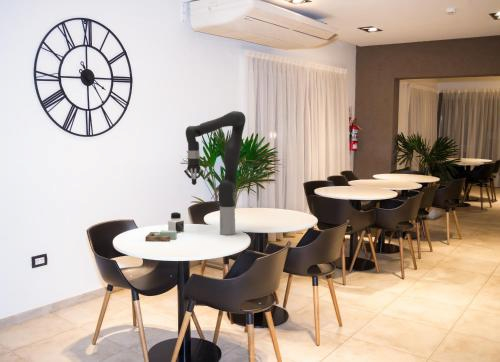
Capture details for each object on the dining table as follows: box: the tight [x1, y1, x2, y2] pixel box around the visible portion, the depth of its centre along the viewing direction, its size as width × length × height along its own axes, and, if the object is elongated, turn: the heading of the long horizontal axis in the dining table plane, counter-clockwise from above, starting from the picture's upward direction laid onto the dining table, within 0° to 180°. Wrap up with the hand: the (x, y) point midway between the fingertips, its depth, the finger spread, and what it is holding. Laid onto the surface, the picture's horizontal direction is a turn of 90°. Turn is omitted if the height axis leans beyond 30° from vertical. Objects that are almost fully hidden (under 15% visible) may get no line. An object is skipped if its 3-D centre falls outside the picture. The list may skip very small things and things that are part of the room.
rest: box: [145, 231, 171, 242], centre depth 279 cm, size 14×13×2 cm
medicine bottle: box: [167, 211, 185, 234], centre depth 298 cm, size 7×7×12 cm
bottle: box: [153, 230, 178, 241], centre depth 279 cm, size 5×5×14 cm
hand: (194, 184), depth 301 cm, fingers closed
